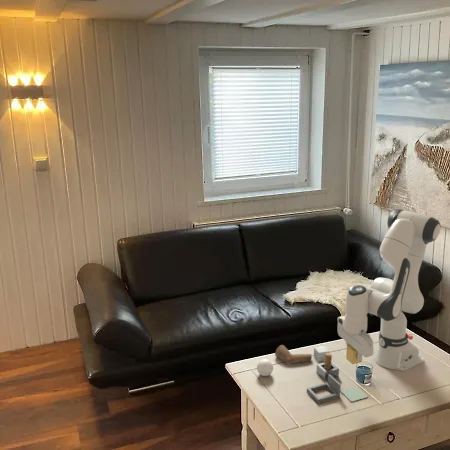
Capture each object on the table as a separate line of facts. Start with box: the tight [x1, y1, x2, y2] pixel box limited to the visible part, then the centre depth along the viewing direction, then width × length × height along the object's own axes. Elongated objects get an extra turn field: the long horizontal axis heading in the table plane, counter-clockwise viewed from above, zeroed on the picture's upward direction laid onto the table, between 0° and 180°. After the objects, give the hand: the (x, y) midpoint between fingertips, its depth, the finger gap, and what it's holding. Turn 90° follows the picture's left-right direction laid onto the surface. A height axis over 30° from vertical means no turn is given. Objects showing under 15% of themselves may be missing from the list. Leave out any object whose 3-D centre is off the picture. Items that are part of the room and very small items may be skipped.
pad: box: [340, 386, 368, 403], centre depth 217 cm, size 8×8×1 cm
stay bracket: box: [316, 361, 340, 381], centre depth 230 cm, size 7×7×4 cm
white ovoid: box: [252, 358, 274, 377], centre depth 230 cm, size 10×7×7 cm
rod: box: [323, 353, 333, 370], centre depth 230 cm, size 3×3×10 cm
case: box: [306, 374, 342, 404], centre depth 216 cm, size 11×9×6 cm
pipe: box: [274, 344, 313, 365], centre depth 243 cm, size 6×17×10 cm
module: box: [345, 345, 363, 365], centre depth 212 cm, size 4×4×6 cm
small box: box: [313, 345, 331, 363], centre depth 244 cm, size 6×6×5 cm
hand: (354, 355), depth 212 cm, fingers closed on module, 4 cm apart
